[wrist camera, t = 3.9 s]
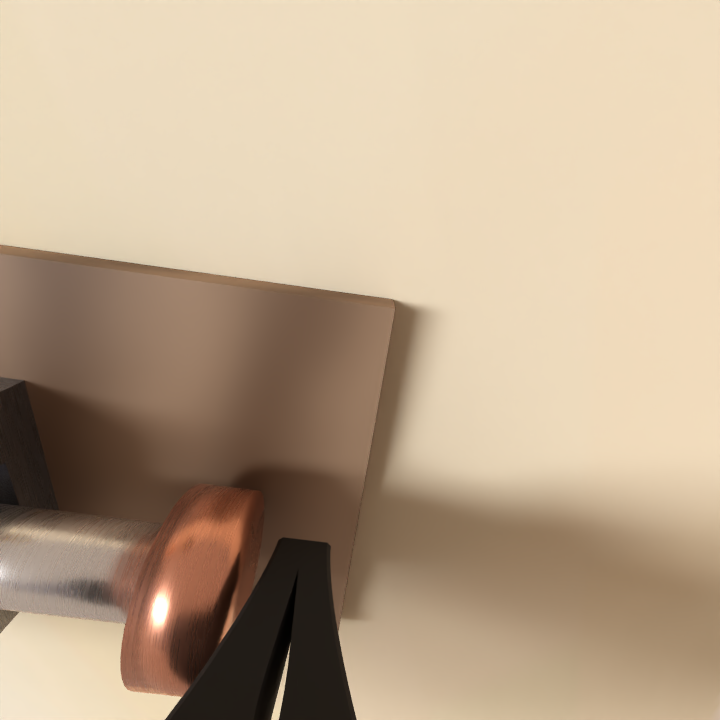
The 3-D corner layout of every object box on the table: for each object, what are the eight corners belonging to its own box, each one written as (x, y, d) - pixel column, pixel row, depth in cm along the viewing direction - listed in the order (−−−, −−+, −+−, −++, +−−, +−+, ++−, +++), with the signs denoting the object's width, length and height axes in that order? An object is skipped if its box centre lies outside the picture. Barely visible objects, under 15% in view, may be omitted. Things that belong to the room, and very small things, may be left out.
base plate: (393, 299, 10) (395, 308, 9) (338, 617, 15) (336, 643, 14) (-318, 200, 9) (-395, 199, 8) (-113, 565, 15) (-146, 588, 14)
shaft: (266, 457, 10) (197, 618, 6) (262, 561, 12) (206, 741, 8) (-85, 413, 10) (-397, 550, 6) (-38, 526, 12) (-255, 692, 8)
